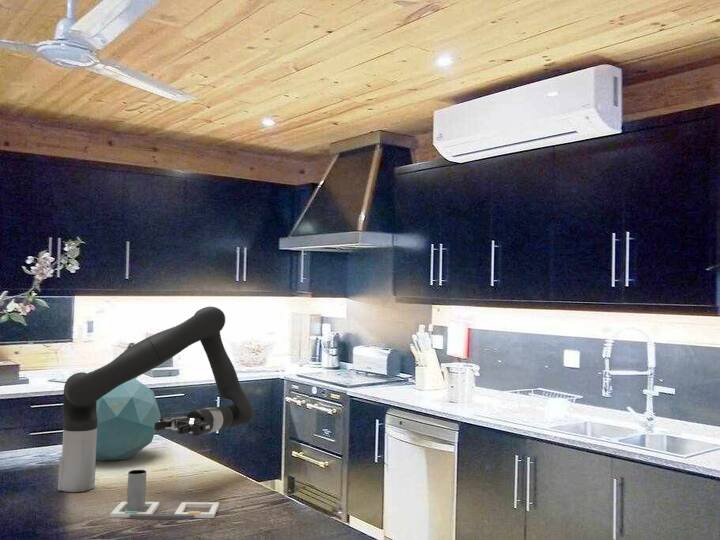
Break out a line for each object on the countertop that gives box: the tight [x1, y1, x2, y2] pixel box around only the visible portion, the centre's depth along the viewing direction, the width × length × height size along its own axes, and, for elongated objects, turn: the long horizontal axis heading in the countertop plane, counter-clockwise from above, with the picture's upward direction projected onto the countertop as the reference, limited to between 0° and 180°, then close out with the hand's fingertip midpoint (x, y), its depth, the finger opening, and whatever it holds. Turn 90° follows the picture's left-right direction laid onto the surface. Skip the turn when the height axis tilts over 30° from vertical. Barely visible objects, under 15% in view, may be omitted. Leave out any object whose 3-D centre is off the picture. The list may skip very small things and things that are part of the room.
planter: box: [126, 469, 147, 512], centre depth 177 cm, size 4×4×10 cm
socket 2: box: [173, 501, 220, 519], centre depth 178 cm, size 10×10×1 cm
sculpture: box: [96, 378, 161, 462], centre depth 233 cm, size 29×29×30 cm
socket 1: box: [109, 501, 160, 519], centre depth 177 cm, size 10×10×1 cm
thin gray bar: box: [128, 514, 195, 520], centre depth 172 cm, size 16×1×1 cm, turn 94°
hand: (167, 428), depth 187 cm, fingers open, 8 cm apart
